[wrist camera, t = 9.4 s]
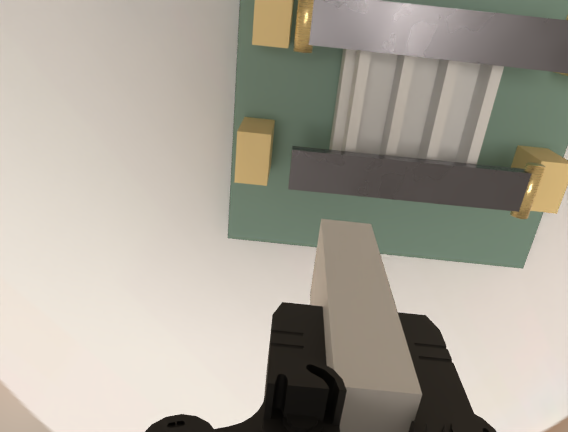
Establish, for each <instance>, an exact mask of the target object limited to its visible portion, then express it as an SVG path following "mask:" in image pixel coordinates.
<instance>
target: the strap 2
mask: <svg viewBox="0 0 568 432" xmlns="http://www.w3.org/2000/svg"><path fill="white" fill-rule="evenodd" d="M544 170H545V166H544V165H541V164H538V163H532V162H528V163H526V166H525V169H521V168H511V167H500V166H490V165H480V164H470V163H460V162H450V161H440V160H430V159H420V158H410V157H400V156H390V155H379V154H369V153H359V152H349V151H339V150H329V149H319V148H309V147H299V146H292V156H291V165H290V174H289V184H288V189H289V190H300V191H310V192H320V193H330V194H341V195H351V196H361V197H372V198H382V199H392V200H403V201H413V202H423V203H433V204H444V205H454V206H464V207H475V208H485V209H495V210H506V211H511V212H510V215H512V216H513V217H516V218H519V219H527V218H528V216H529V213H530V210H531V208H532V205H533V202H534V199H535V196H536V193H537V190H538V187H539V185H540V182H541V179H542V176H543V173H544Z"/></svg>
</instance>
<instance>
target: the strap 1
mask: <svg viewBox="0 0 568 432" xmlns="http://www.w3.org/2000/svg"><path fill="white" fill-rule="evenodd" d="M313 45H314V46H323V47H332V48H341V49H350V50H360V51H369V52H378V53H387V54H396V55H405V56H414V57H423V58H432V59H441V60H450V61H459V62H468V63H478V64H487V65H496V66H505V67H514V68H523V69H532V70H541V71H550V72H559V73H568V20H560V19H551V18H541V17H532V16H522V15H513V14H503V13H493V12H484V11H474V10H465V9H455V8H446V7H436V6H427V5H417V4H408V3H398V2H388V1H379V0H298V9H297V19H296V29H295V39H294V49H293V51H295V52H302V53H312V49H313Z"/></svg>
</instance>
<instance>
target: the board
mask: <svg viewBox="0 0 568 432" xmlns="http://www.w3.org/2000/svg"><path fill="white" fill-rule="evenodd" d="M379 1H388V2H398V3H408V4H417V5H427V6H436V7H446V8H455V9H465V10H474V11H484V12H493V13H503V14H513V15H522V16H532V17H541V18H551V19H560V20H568V0H379ZM297 9H298V0H240V10H239V29H238V49H237V68H236V88H235V107H234V127H233V146H232V166H231V185H230V205H229V224H228V238H232V239H242V240H251V241H261V242H271V243H280V244H290V245H300V246H310V247H317V244H318V237H319V230H320V223H321V219H328V220H338V221H348V222H358V223H367V224H371V225H372V229H373V232H374V235H375V239H376V242H377V245H378V249H379V252H380V254H387V255H397V256H407V257H417V258H426V259H436V260H446V261H456V262H465V263H475V264H485V265H494V266H504V267H514V268H523V267H524V265H525V262H526V259H527V256H528V253H529V251H530V248H531V245H532V242H533V240H534V237H535V234H536V231H537V229H538V226H539V223H540V220H541V217H542V215H543V212H547V213H556V214H557V212H558V209H559V206H560V204H561V201H562V198H563V196H564V193H565V190H566V188H567V185H568V160H566V159H565V158H563V157H564V154H565V151H566V148H567V146H568V73H559V72H550V71H541V70H532V69H523V68H514V67H505V66H496V65H487V64H478V63H468V62H459V61H450V60H441V59H432V58H423V57H414V56H405V55H396V54H387V53H378V52H369V51H360V50H350V49H341V48H332V47H323V46H314V45H313V49H312V53H302V52H295V51H293V49H294V39H295V29H296V19H297ZM292 146H299V147H309V148H319V149H329V150H339V151H349V152H359V153H369V154H379V155H390V156H400V157H410V158H420V159H430V160H440V161H450V162H460V163H470V164H480V165H490V166H500V167H511V168H521V169H525V166H526V163H528V162H532V163H538V164H541V165H544V166H545V170H544V173H543V176H542V179H541V182H540V185H539V187H538V190H537V193H536V196H535V199H534V202H533V205H532V208H531V210H530V213H529V216H528V218H527V219H519V218H516V217H513V216H512V215H510V212H511V211H506V210H495V209H485V208H475V207H464V206H454V205H444V204H433V203H423V202H413V201H403V200H392V199H382V198H372V197H361V196H351V195H341V194H330V193H320V192H310V191H300V190H289V189H288V184H289V174H290V165H291V156H292Z"/></svg>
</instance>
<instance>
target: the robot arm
mask: <svg viewBox="0 0 568 432" xmlns="http://www.w3.org/2000/svg"><path fill="white" fill-rule="evenodd" d="M145 432H496V430H495V429H494V428H493V427H492V426H491V425H489V424H488V423H487V422H486V421H485V420H484V419H483V418H481V417H479V416H477V415H475V414H474V412H473V410H472V407H471V405H470V403H469V400H468V398H467V395H466V393H465V390H464V388H463V386H462V383H461V381H460V378H459V376H458V373H457V371H456V368H455V366H454V364H453V363H452V359H451V356H450V354H449V351H448V349H446V344H445V342H444V339H443V337H442V334H441V332H440V330H439V329H438V328H437V327H436V326H435V325H434V324H433V322H432V321H431V320H430V319H429V318H428V317H427V316H426V315H417V314H407V313H398V312H397V309H396V305H395V302H394V299H393V295H392V292H391V289H390V285H389V282H388V279H387V275H386V272H385V269H384V265H383V262H382V259H381V255H380V252H379V249H378V245H377V242H376V239H375V235H374V232H373V229H372V225H371V224H367V223H358V222H348V221H338V220H328V219H321V223H320V230H319V237H318V244H317V251H316V258H315V264H314V271H313V278H312V285H311V292H310V305H304V304H294V303H284V302H282V303H281V305H280V306H279V307H278V309H277V310H276V311H275V312H274V314H273V317H272V326H271V336H270V345H269V354H268V364H267V375H266V385H265V396H264V402H263V404H262V406H261V407H260V409H259V410H258V411H257V412H256V413H255V414H254V415H253V416H252V417H251V418H249V419H247V420H246V421H244V422H242V423H239V424H236V425H233V426H229V427H224V428H218V429H213V427H212V426H211V425H210V424H209V423H208V422H206V421H204V420H203V419H201V418H199V417H197V416H191V415H184V414H180V415H174V416H169V417H165V418H163V419H161V420H160V421H158V422H156V423H154V424H152V425H151V426H150V427H149V428H148V429H147V430H146V431H145Z"/></svg>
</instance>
